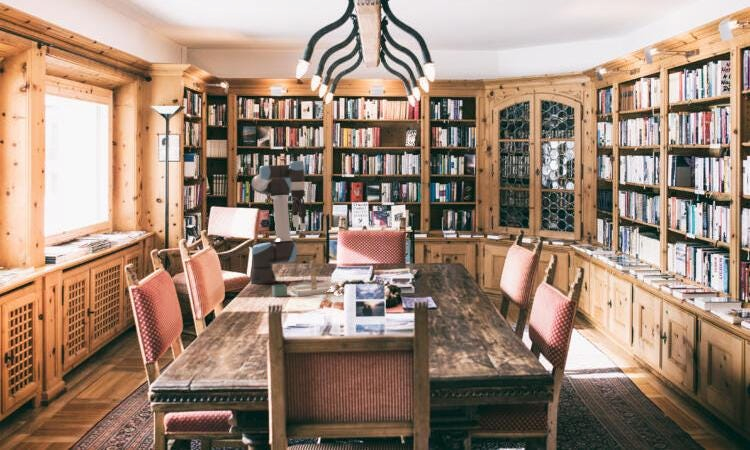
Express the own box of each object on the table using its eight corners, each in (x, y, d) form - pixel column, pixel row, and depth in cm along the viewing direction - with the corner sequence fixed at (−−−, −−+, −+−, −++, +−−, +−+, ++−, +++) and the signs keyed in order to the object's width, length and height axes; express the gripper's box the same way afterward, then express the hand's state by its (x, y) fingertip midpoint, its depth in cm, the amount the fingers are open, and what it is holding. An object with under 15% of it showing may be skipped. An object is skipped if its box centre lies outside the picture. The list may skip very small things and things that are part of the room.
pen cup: (272, 294, 370) (271, 285, 370) (284, 293, 372) (283, 284, 372) (275, 296, 364) (274, 287, 363) (287, 295, 366) (286, 286, 366)
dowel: (310, 289, 375) (309, 260, 374) (315, 289, 376) (314, 260, 375) (312, 290, 372) (310, 261, 371) (317, 290, 373) (315, 260, 372)
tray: (290, 291, 377) (290, 287, 377) (329, 287, 385) (328, 283, 385) (298, 296, 363) (298, 291, 362) (338, 291, 371) (337, 287, 370)
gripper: (285, 188, 386) (286, 226, 388) (297, 190, 363) (299, 230, 365) (298, 188, 388) (299, 225, 391) (311, 190, 365) (312, 229, 368)
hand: (299, 228), depth 378 cm, fingers open, 13 cm apart
